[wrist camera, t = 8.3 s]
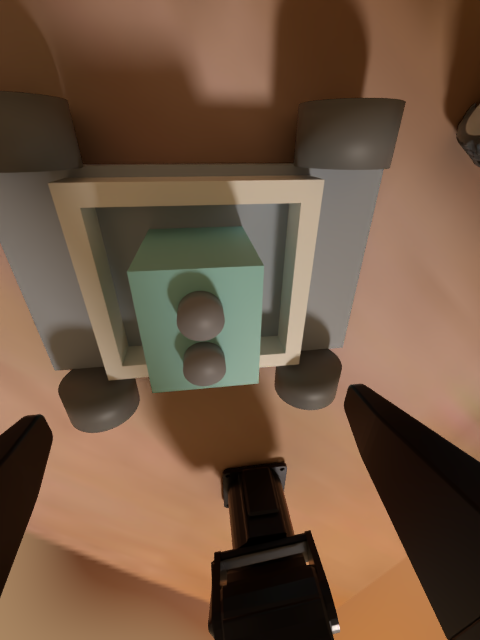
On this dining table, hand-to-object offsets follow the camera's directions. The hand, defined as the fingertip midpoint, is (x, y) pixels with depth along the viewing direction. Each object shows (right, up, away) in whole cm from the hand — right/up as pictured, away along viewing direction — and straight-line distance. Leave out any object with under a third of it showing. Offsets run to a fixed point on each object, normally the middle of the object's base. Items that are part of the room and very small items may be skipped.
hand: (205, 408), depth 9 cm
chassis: (-1, +6, +10) cm, 11 cm away
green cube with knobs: (-1, +5, +9) cm, 10 cm away
